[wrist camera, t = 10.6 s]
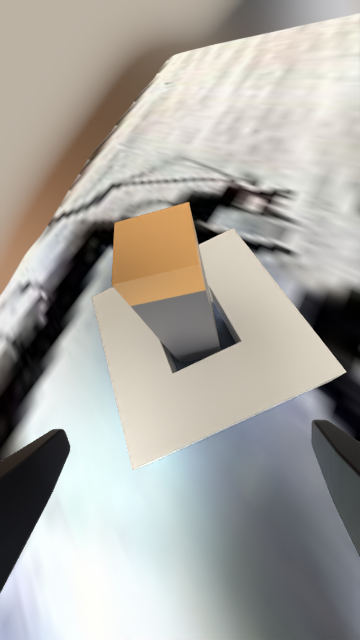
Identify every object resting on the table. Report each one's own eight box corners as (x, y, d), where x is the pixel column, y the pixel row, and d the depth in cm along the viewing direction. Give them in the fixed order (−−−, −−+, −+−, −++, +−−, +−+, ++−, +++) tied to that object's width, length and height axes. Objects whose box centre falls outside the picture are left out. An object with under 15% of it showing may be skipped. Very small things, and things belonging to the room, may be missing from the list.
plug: (222, 355, 21) (199, 264, 10) (179, 362, 22) (111, 284, 10) (214, 316, 23) (188, 202, 12) (175, 324, 24) (114, 222, 12)
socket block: (331, 380, 18) (346, 371, 16) (147, 464, 19) (132, 470, 16) (234, 248, 26) (233, 228, 23) (106, 310, 26) (91, 296, 24)
